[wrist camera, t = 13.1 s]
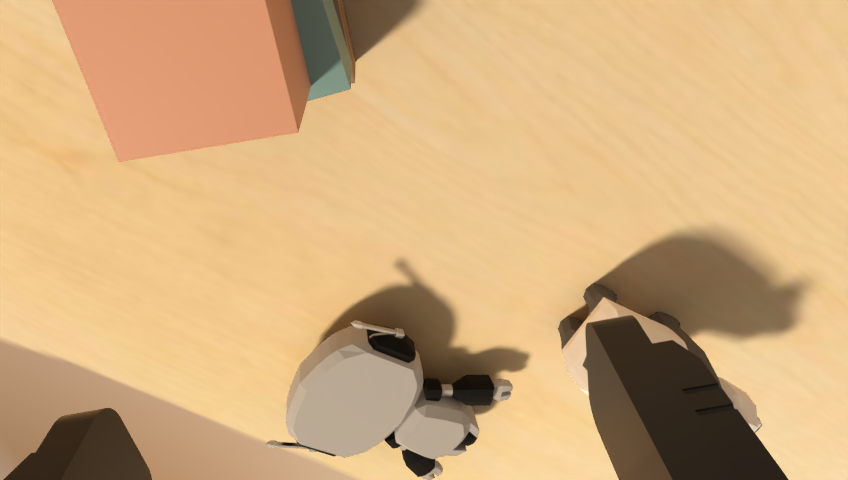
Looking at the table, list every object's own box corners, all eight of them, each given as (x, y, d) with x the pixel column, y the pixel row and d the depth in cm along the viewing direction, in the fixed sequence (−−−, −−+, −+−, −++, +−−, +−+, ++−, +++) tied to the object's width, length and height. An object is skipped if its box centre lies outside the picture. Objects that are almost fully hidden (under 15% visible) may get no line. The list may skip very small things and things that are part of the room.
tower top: (295, -121, 26) (282, -126, 22) (351, 62, 30) (350, 89, 26) (119, -69, 27) (71, -63, 22) (197, 106, 30) (170, 139, 26)
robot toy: (513, 356, 47) (343, 283, 42) (530, 398, 44) (346, 325, 38) (426, 456, 52) (262, 403, 46) (435, 503, 48) (257, 452, 42)
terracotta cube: (273, -74, 23) (248, -68, 17) (311, 86, 26) (298, 132, 20) (113, -48, 23) (37, -35, 17) (168, 109, 25) (118, 161, 20)
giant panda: (539, 327, 45) (580, 423, 37) (583, 270, 43) (637, 357, 35) (686, 390, 50) (752, 489, 41) (732, 341, 48) (812, 434, 39)
